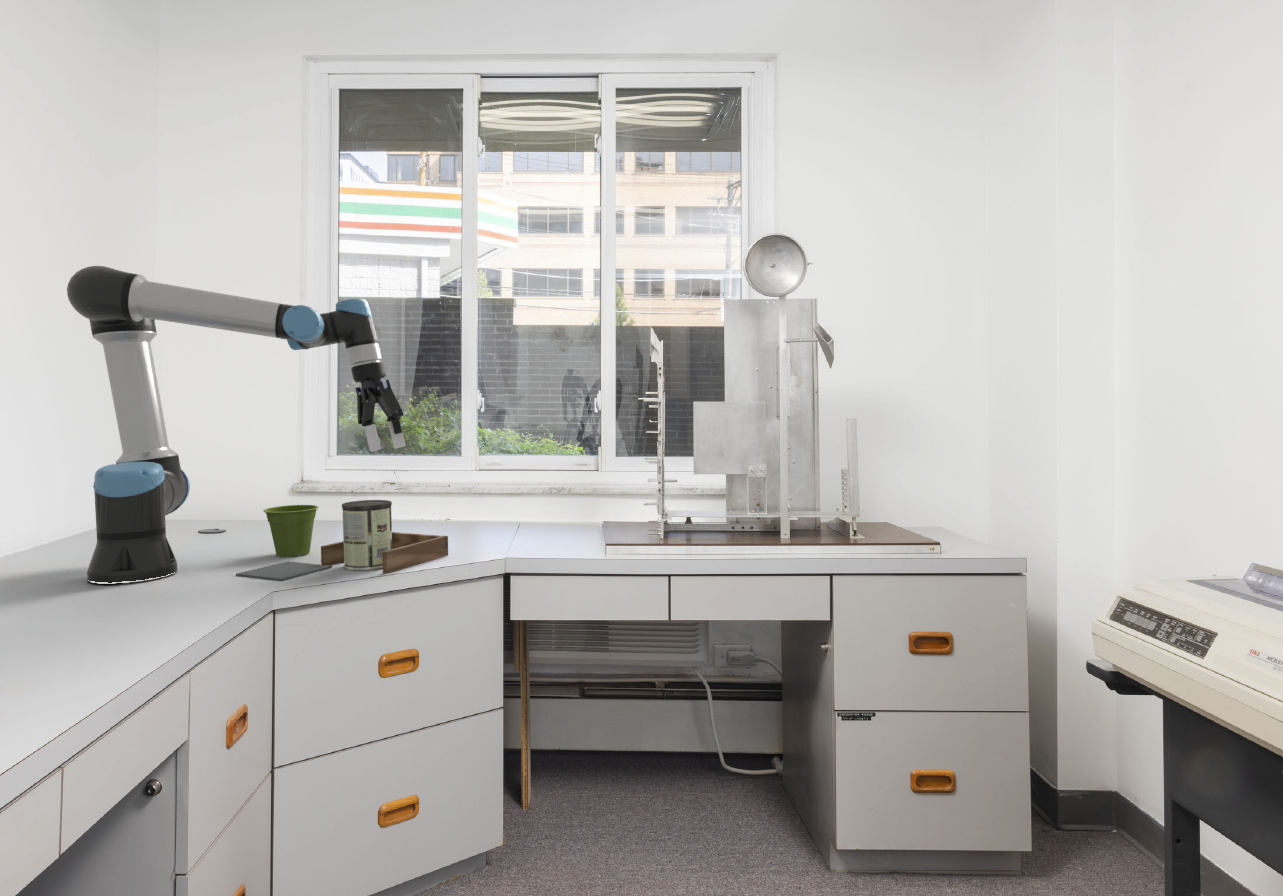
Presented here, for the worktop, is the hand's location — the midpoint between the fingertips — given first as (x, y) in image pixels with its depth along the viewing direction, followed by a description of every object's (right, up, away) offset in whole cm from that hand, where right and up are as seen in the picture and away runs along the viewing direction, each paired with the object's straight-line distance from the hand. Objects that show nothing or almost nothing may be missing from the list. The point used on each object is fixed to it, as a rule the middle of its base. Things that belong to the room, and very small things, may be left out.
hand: (387, 449), depth 173 cm
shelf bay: (+4, -25, -12) cm, 28 cm away
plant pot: (-21, -25, -4) cm, 33 cm away
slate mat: (-14, -26, -22) cm, 37 cm away
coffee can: (+2, -26, -17) cm, 31 cm away
